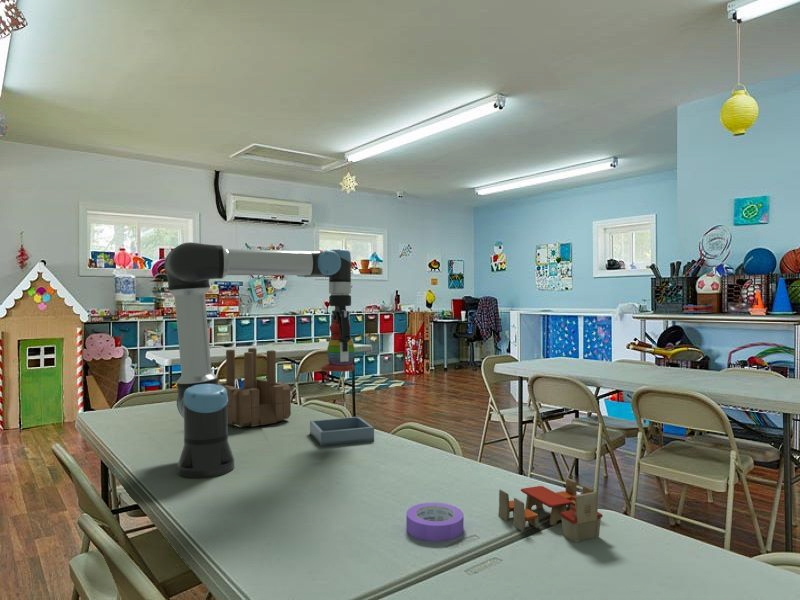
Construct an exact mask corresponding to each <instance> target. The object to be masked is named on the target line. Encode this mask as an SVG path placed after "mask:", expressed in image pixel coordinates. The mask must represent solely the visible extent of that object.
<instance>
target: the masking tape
mask: <svg viewBox="0 0 800 600" xmlns="http://www.w3.org/2000/svg"><path fill="white" fill-rule="evenodd" d="M405 516H406V526H405V529H406V532H407V534H409V535H410V536H412V537H414V538H415V539H419V540H423V541H431V542H439V541H440V542H442V541H448V540H452V539H455V538H458V537H459V536H461V535H462V534H463V532H464V518H465V517H464V512H463V511H462V509H460V508H459V507H457V506H456V505H452V504H450V503H449V504H448V503H445V502H444V503H443V502H423V503H418V504H415V505H412V506H411V507H409V508H408V509H407V510H406V515H405Z"/></svg>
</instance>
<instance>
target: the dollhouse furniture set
mask: <svg viewBox="0 0 800 600" xmlns="http://www.w3.org/2000/svg"><path fill="white" fill-rule="evenodd" d="M565 479H566V480H565V491H563V490H562V491H557V492H555V491H553V490H551V489H549V488H548V487H546V486H543V485H538V486H531V487H522V488H521V489H520V491H521V492H522V493H523V494H525V495H526V501H525V503H524V502H523V501H521V500H520V499H518V498H516V497H513V500H510V497H509V493H507V492H506V491H504V490H502V489H499V490H498V491H499V492H498V517H499V518H500V519H503V520H504V521H505V522H508V521H509V519H510V514H511V512H512V514H513V522H512V525H513V527H515V528H517V530H520V532H523V531H525V528H526V522H527V523H528V524H529V525H530V526H532V527H534V528H536V529H538V528H539V527H540V524H539V514H538V513H536V512H534V511H533V510H532V508H533V506H535V507H536V509H538V510H540V509H544V506H546V507H548V508H551V509H550V518H549V525H550V526H555V525H557V522H559V521H560V523H561V527H562V536H563V537H565V538H566V539H568V540H570V541H571V542H573V543H579V542H580V541H585V540H589V539H594V538H595V539H598V538H599V536H600V530H601V529H600V528H601V521H602V520H601V519H602V518H603V514H602V513H600V512H599V510H598V509H599V508H598V505H599V503H598V502H599V500H598V499H599V496H598V495H599V494H598V492H596V491H595V490H594V488H592V487H589V486H587V485H585V484H584V485H582V493H580V494H577V493H578V492H577V491H578V490H577V486H578V485H577V481H576V480H575V479H571V478H569V477H567V478H565ZM567 506H569V510H568V508H567Z"/></svg>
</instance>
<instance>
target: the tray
mask: <svg viewBox="0 0 800 600" xmlns="http://www.w3.org/2000/svg"><path fill="white" fill-rule="evenodd" d="M309 434H310V435H311V436H312V437H313V439H314V440H315V441H316V443H317V444H318V445H319V446H320V447H328V446H337V445H338V446H339V445H348V444H356V443H365V442H375V427H374V425H373V426H372V424H371V423H368V422H367V421H366V420H364V419H363V418H361V417H360V416H350V417H340V418H338V417H337V418H328V419H316V420H309Z"/></svg>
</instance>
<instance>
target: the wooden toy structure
mask: <svg viewBox="0 0 800 600" xmlns="http://www.w3.org/2000/svg"><path fill="white" fill-rule="evenodd" d="M235 351H236V350H235V349H226V352H225V369H226V370H225V373H226V374H225V375H226V377H225V378H226V381H220V382H218V385H221V386H223V387H224V388H226V390H227V396H228V425H231V426H234V425H237V426H239V427H241V428H242V427H248V426H251V427H254V426H264V425H270V424H276V423H278V422H280V421H283V420H287V419H289V418H290V416H291V414H292V411H291V407H292V406H291V405H292V404H291V402H292V401H291V399H292V398H291V388H290V385H289V384H287V383H284V382H281V381H277V378H276V377H277V375H276V374H277V372H276V371H277V367H276V366H277V364H276V362H277V361H276V360H277V357H276V355H277V354H276V350H273V349H272V350H266V379H263V378H258V376H257V375H258V374H257V373H258V371H257V370H258V368H257V363H258V362H257V359H258V357H257V355H258V354H257V348H255V347H249V348H247V351H246V352H244V353H243V359H244V360H243V361H244V362H243V366H244V367H243V369H244V370H243V371H244V373H243V374H244V376H243V377H244V379H243V380H242V388H239V387H236V356H235V355H236V352H235Z"/></svg>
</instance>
